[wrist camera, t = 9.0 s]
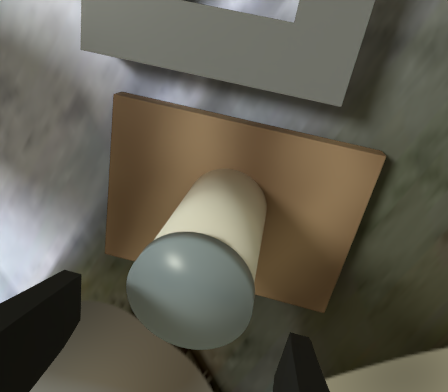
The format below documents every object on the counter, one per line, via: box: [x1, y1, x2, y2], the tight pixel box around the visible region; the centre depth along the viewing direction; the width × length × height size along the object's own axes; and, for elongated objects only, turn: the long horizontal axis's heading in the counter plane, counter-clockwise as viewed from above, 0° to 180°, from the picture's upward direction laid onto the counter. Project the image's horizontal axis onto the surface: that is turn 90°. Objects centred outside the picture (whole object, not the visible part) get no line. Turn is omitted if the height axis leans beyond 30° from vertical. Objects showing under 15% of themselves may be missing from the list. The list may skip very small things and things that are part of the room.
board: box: [105, 92, 386, 313], centre depth 21 cm, size 14×10×1 cm
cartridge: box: [126, 169, 267, 350], centre depth 16 cm, size 5×5×8 cm
